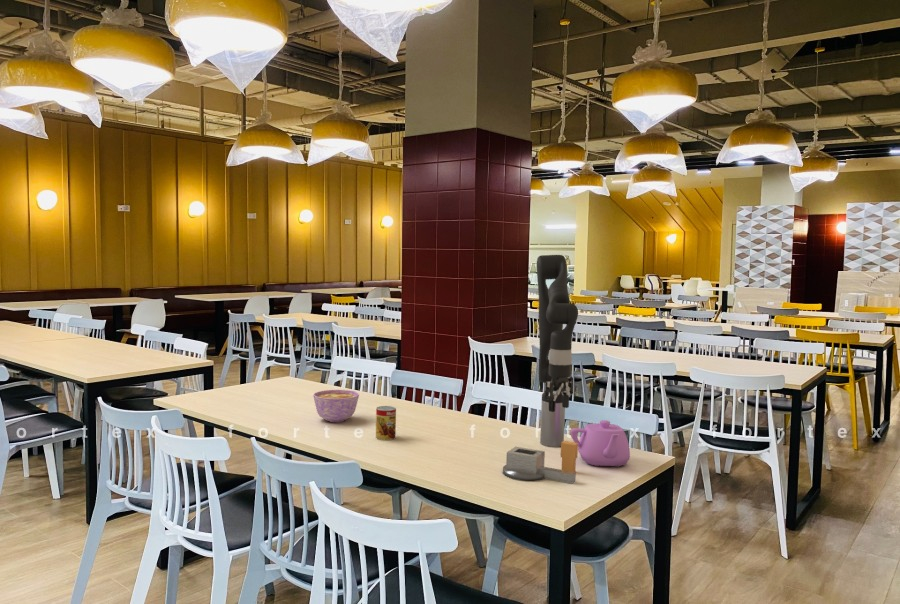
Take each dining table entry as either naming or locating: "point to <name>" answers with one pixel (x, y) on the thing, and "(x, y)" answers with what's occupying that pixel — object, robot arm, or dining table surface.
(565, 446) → the orange block
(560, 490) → the dining table surface
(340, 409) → the bowl of food
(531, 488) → the dining table surface
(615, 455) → the teapot
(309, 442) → the dining table surface
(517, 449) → the bracket
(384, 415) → the canned food
